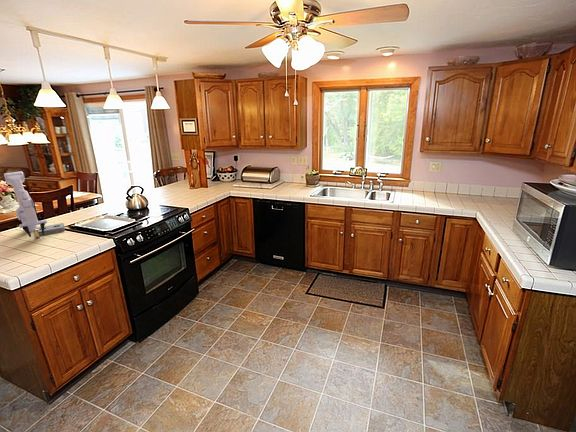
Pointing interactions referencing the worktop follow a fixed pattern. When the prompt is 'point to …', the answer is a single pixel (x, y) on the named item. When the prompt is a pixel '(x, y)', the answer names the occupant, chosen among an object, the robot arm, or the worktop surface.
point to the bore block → (51, 229)
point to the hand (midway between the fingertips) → (37, 235)
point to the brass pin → (36, 233)
